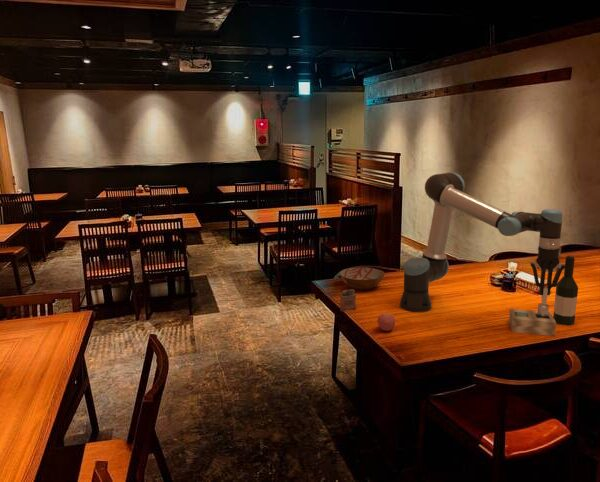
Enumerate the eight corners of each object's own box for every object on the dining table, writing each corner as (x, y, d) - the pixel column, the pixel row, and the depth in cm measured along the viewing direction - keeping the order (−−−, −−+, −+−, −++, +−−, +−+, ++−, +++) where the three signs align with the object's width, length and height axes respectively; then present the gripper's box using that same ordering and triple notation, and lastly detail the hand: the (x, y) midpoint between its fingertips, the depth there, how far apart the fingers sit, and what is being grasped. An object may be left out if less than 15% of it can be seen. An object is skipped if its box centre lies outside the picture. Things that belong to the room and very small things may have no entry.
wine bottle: (555, 317, 210) (561, 252, 204) (576, 321, 205) (583, 255, 199) (550, 322, 204) (557, 256, 198) (572, 327, 199) (579, 259, 193)
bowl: (393, 290, 253) (393, 276, 251) (352, 296, 244) (352, 282, 242) (369, 278, 276) (370, 265, 274) (331, 283, 267) (331, 270, 265)
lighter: (341, 311, 223) (341, 291, 220) (339, 309, 226) (338, 289, 224) (357, 309, 225) (357, 290, 222) (354, 307, 228) (354, 288, 226)
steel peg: (537, 319, 195) (539, 306, 194) (536, 315, 199) (537, 302, 197) (548, 320, 194) (549, 307, 192) (546, 316, 197) (547, 303, 196)
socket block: (512, 332, 195) (513, 318, 194) (508, 321, 206) (509, 308, 205) (554, 336, 190) (556, 322, 189) (548, 325, 202) (550, 312, 200)
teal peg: (516, 328, 198) (517, 315, 197) (514, 324, 202) (516, 311, 201) (526, 328, 197) (527, 316, 196) (525, 325, 201) (526, 312, 200)
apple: (398, 329, 200) (398, 312, 199) (389, 334, 195) (389, 317, 193) (383, 325, 205) (383, 308, 204) (374, 330, 200) (374, 313, 198)
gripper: (532, 248, 188) (528, 304, 193) (569, 250, 184) (563, 306, 189) (529, 244, 195) (525, 298, 200) (564, 246, 191) (559, 300, 196)
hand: (543, 302), depth 195 cm, fingers closed
